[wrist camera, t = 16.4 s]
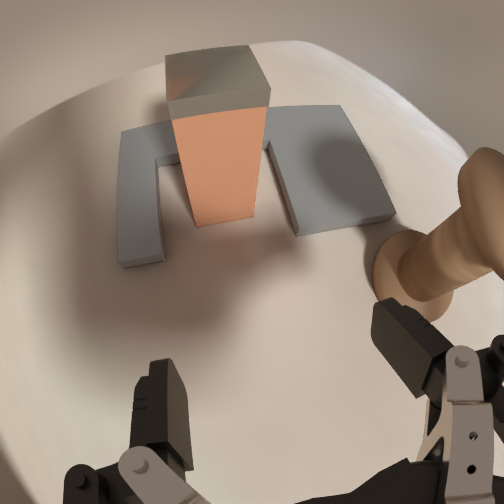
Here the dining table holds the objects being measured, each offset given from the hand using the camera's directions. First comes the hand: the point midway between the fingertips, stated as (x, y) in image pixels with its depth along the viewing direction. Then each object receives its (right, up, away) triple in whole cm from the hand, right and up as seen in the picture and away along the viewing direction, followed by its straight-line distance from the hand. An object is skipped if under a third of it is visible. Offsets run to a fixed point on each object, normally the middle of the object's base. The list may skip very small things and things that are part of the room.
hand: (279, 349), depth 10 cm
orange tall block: (-3, +7, +10) cm, 13 cm away
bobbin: (+11, +2, +9) cm, 14 cm away
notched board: (-1, +10, +11) cm, 15 cm away
